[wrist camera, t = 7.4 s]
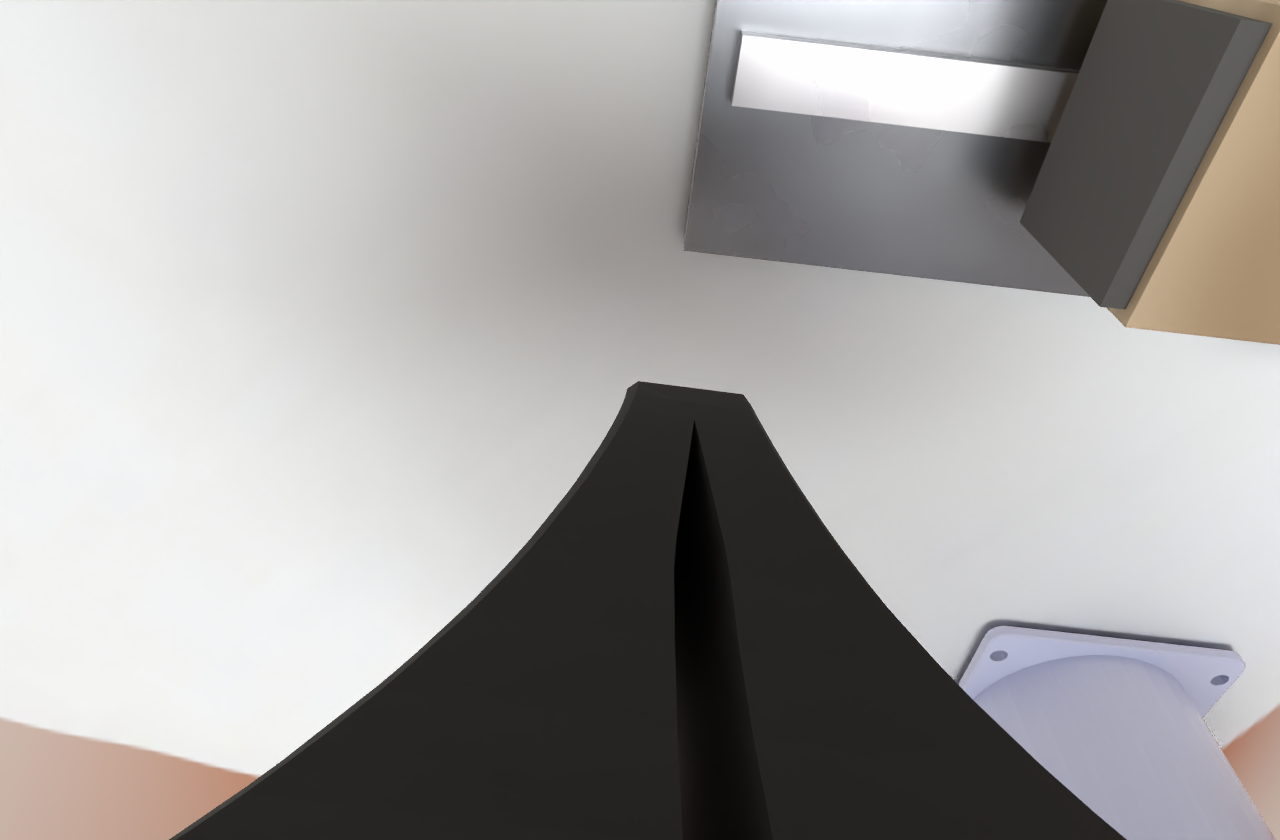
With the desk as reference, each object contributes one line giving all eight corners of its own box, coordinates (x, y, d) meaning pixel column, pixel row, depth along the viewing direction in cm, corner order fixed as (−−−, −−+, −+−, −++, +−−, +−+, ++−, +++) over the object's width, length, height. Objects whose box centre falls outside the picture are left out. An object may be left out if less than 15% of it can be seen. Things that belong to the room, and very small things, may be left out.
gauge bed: (683, 236, 17) (680, 369, 13) (741, -190, 13) (770, -231, 8) (1337, 311, 18) (1576, 470, 13) (1612, -86, 13) (2130, -68, 8)
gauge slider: (1005, 221, 15) (1099, 324, 12) (1150, -157, 12) (1347, -173, 8) (1182, 241, 15) (1328, 350, 12) (1378, -130, 12) (1672, -133, 8)
